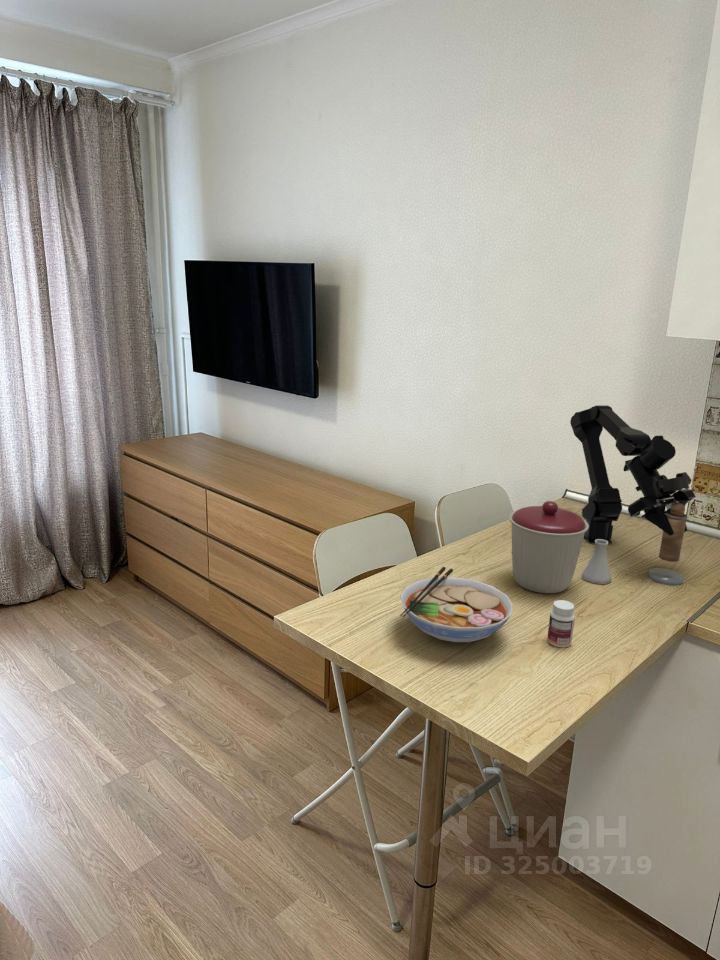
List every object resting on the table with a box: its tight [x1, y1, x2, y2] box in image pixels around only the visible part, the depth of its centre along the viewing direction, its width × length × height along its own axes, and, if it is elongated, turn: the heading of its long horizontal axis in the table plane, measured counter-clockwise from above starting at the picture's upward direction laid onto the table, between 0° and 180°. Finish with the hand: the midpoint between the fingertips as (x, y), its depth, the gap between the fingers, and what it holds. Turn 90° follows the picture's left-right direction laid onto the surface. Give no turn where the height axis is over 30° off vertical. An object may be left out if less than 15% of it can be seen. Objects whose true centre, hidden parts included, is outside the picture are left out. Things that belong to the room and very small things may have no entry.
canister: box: [508, 500, 589, 594], centre depth 158 cm, size 18×18×21 cm
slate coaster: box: [648, 567, 685, 586], centre depth 166 cm, size 8×8×1 cm
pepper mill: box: [658, 503, 688, 563], centre depth 163 cm, size 5×5×14 cm
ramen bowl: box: [400, 566, 514, 643], centre depth 136 cm, size 25×23×8 cm
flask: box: [581, 539, 612, 585], centre depth 164 cm, size 7×7×10 cm
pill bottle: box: [546, 599, 576, 648], centre depth 134 cm, size 5×5×8 cm
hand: (678, 533), depth 162 cm, fingers closed on pepper mill, 5 cm apart
